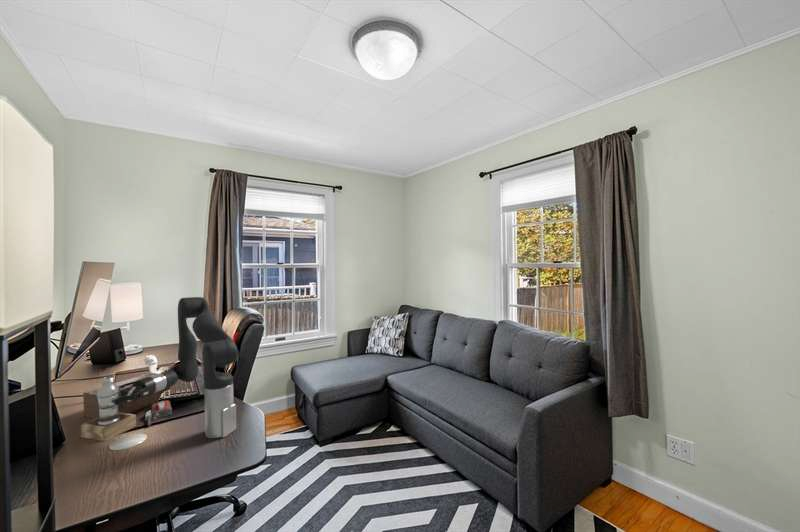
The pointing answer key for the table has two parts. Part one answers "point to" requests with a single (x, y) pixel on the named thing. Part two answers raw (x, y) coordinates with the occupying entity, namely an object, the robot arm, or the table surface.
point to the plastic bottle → (108, 402)
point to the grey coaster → (128, 442)
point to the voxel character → (152, 364)
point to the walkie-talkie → (158, 411)
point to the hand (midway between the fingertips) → (106, 401)
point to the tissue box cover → (91, 396)
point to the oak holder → (108, 427)
